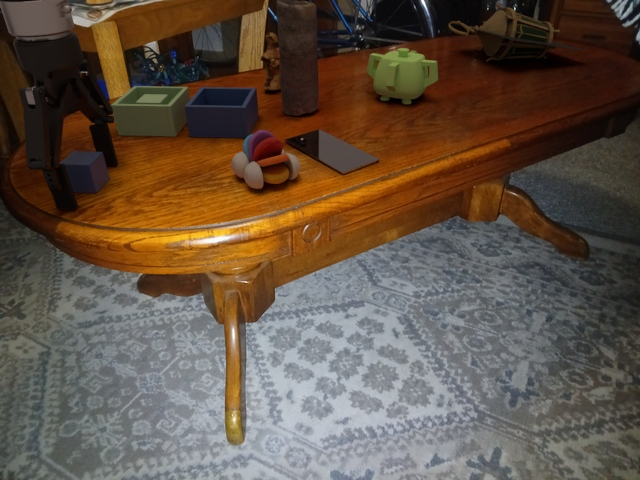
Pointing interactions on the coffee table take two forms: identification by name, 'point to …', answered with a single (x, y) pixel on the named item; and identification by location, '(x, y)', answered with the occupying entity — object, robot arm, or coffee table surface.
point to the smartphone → (331, 151)
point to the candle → (298, 56)
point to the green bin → (151, 112)
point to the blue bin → (222, 112)
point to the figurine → (271, 64)
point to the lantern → (513, 35)
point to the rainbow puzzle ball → (264, 161)
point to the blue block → (86, 171)
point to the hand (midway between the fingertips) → (90, 184)
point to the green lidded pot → (401, 74)
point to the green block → (154, 99)
